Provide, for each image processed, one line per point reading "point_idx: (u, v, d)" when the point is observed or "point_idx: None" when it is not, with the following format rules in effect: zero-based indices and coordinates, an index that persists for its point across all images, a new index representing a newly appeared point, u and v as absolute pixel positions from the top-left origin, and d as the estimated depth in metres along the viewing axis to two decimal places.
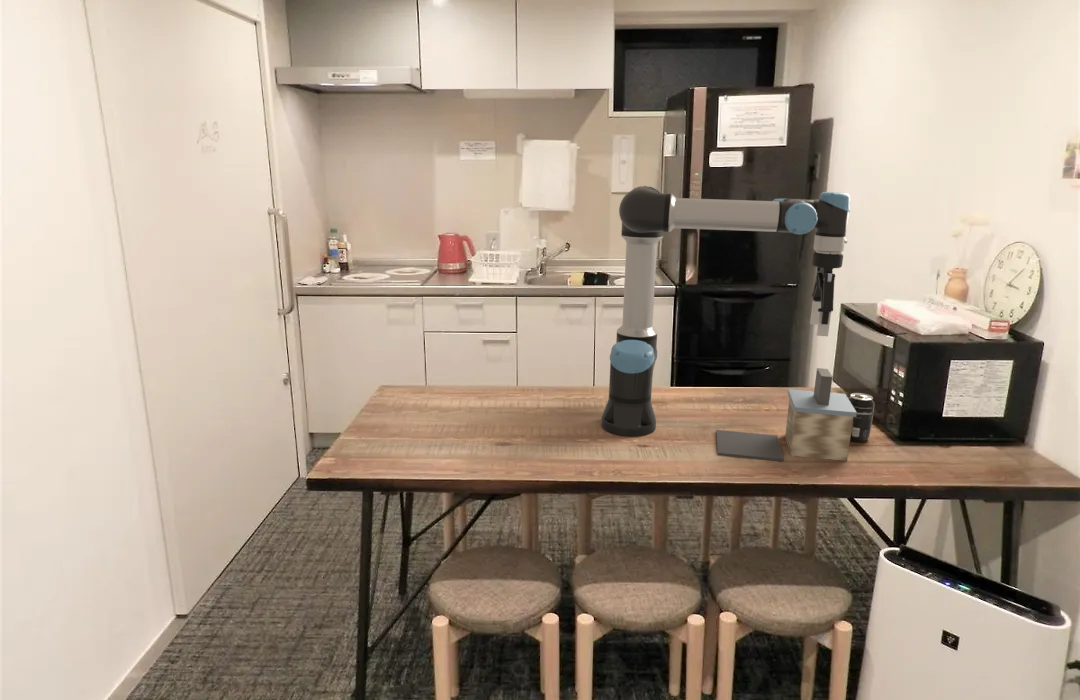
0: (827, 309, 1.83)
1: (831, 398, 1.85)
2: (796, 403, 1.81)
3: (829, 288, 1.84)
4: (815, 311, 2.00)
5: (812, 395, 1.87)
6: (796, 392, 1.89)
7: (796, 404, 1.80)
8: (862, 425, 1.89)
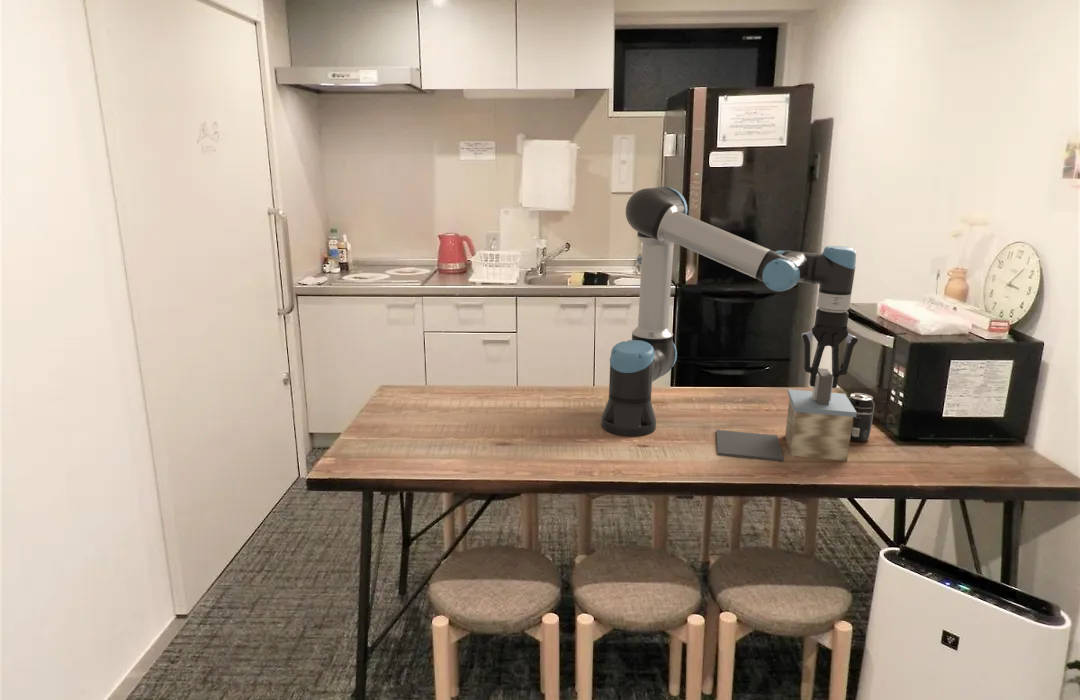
0: None
1: (831, 398, 1.85)
2: (796, 403, 1.81)
3: (804, 348, 1.81)
4: None
5: None
6: (796, 392, 1.89)
7: (796, 404, 1.80)
8: (862, 425, 1.89)
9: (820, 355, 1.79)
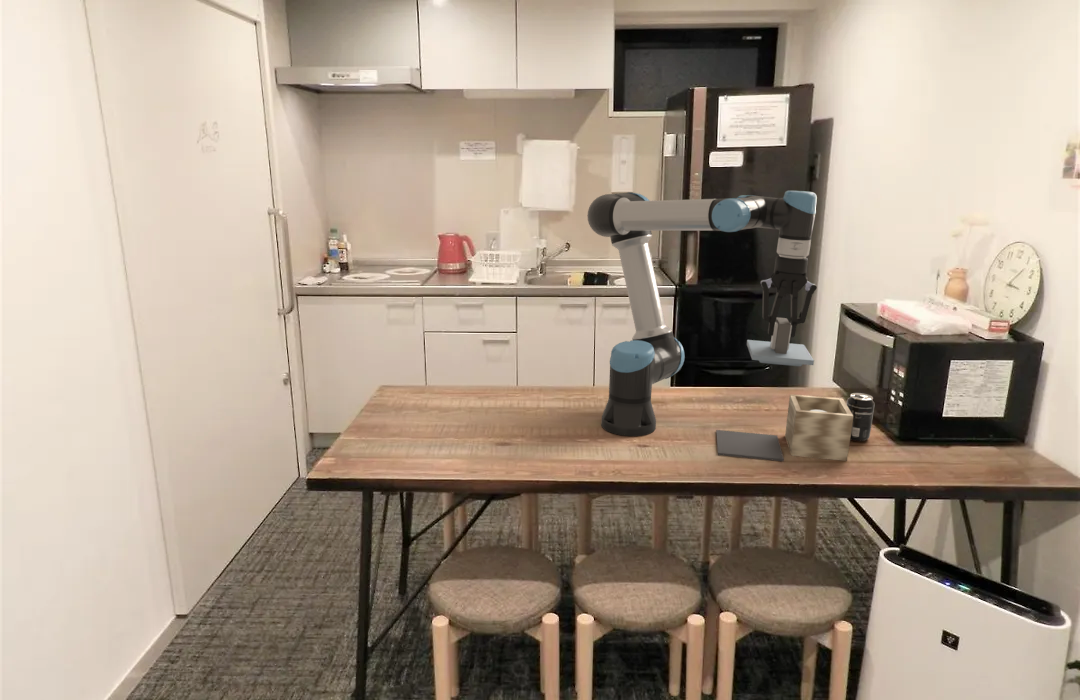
0: None
1: (789, 348, 1.82)
2: (754, 351, 1.78)
3: (763, 296, 1.78)
4: None
5: None
6: (755, 342, 1.86)
7: (753, 353, 1.77)
8: (862, 425, 1.89)
9: (779, 303, 1.76)
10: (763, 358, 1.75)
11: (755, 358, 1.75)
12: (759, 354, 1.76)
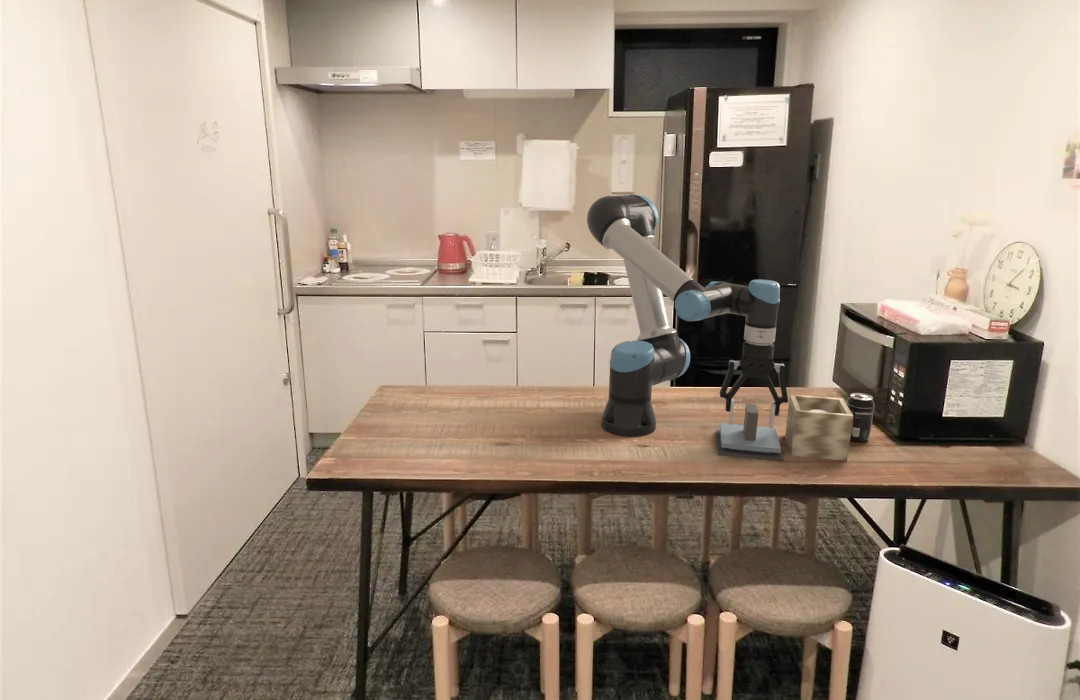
0: None
1: (760, 433, 1.88)
2: (724, 438, 1.84)
3: (727, 374, 1.83)
4: (770, 412, 1.84)
5: (742, 429, 1.90)
6: (727, 426, 1.92)
7: (723, 440, 1.83)
8: (862, 425, 1.89)
9: (740, 384, 1.82)
10: (732, 446, 1.81)
11: (724, 446, 1.81)
12: (728, 442, 1.82)
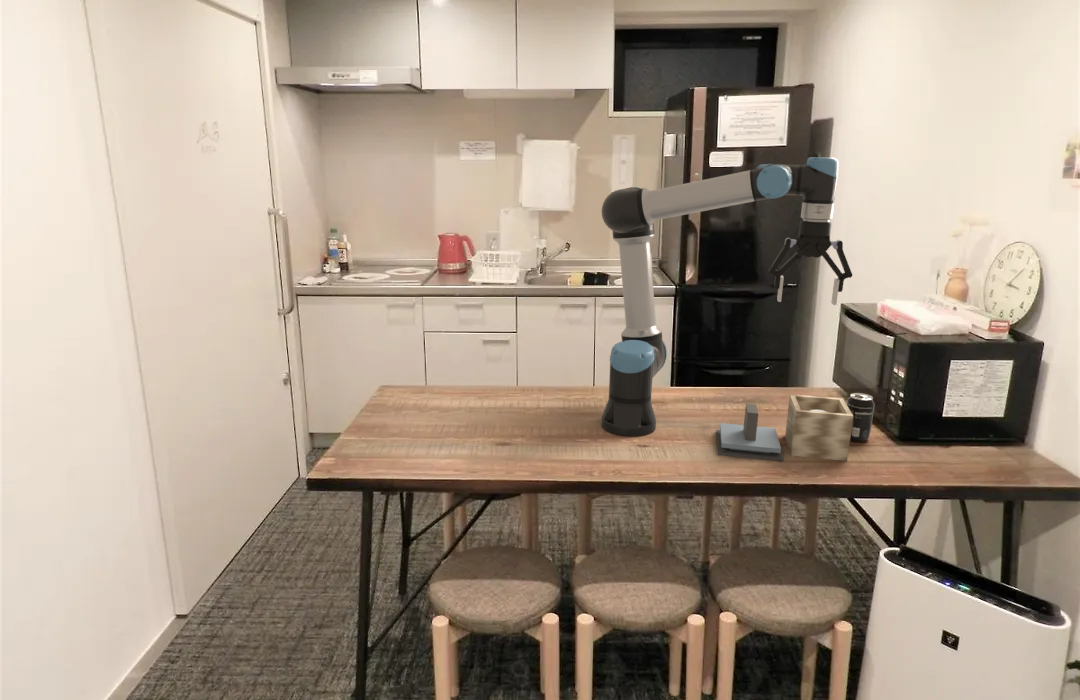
0: (769, 270, 1.86)
1: (760, 433, 1.88)
2: (724, 438, 1.84)
3: (780, 251, 1.84)
4: (833, 289, 1.85)
5: (742, 429, 1.90)
6: (727, 426, 1.92)
7: (723, 440, 1.83)
8: (862, 425, 1.89)
9: (793, 261, 1.83)
10: (732, 446, 1.81)
11: (724, 446, 1.81)
12: (728, 442, 1.82)
